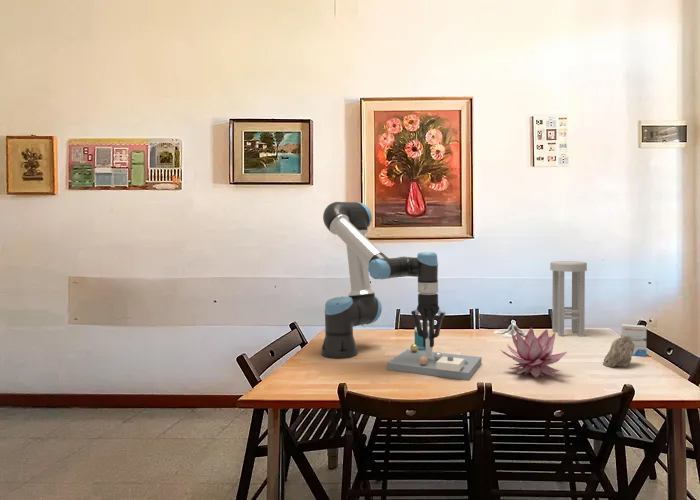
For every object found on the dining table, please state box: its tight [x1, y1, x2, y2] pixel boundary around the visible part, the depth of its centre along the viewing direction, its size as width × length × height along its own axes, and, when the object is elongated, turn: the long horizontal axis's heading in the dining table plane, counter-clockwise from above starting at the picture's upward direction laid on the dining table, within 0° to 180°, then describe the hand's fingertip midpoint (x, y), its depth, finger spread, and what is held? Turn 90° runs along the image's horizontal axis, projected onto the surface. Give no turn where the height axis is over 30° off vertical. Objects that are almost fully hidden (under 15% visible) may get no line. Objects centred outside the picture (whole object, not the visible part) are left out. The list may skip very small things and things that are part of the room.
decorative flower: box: [500, 327, 568, 378], centre depth 167 cm, size 21×21×15 cm
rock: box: [602, 336, 635, 368], centre depth 176 cm, size 14×10×8 cm
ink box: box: [620, 323, 648, 357], centre depth 191 cm, size 8×5×12 cm, turn 65°
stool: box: [549, 260, 588, 338], centre depth 228 cm, size 16×16×35 cm
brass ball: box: [409, 343, 418, 352], centre depth 190 cm, size 3×3×3 cm
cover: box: [436, 356, 464, 372], centre depth 167 cm, size 8×8×4 cm
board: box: [386, 348, 482, 381], centre depth 178 cm, size 30×22×2 cm
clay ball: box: [419, 356, 428, 365], centre depth 171 cm, size 3×3×3 cm
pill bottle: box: [414, 319, 429, 351], centre depth 197 cm, size 8×7×14 cm
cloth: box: [493, 322, 537, 340], centre depth 231 cm, size 22×19×6 cm
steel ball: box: [434, 351, 442, 361], centre depth 177 cm, size 3×3×3 cm
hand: (428, 355), depth 178 cm, fingers closed
